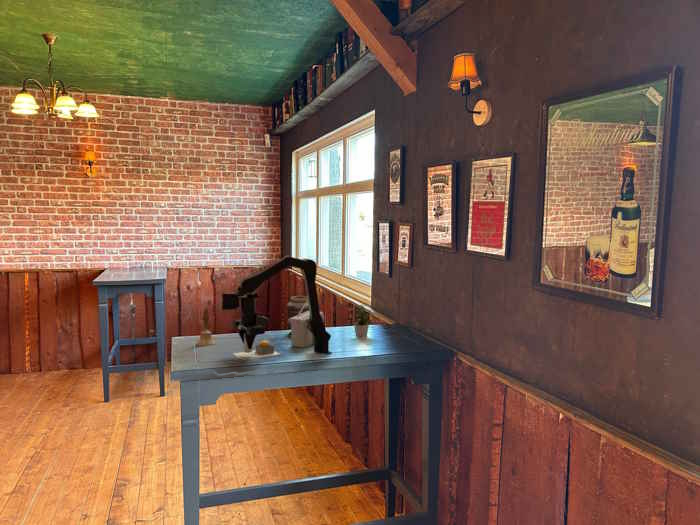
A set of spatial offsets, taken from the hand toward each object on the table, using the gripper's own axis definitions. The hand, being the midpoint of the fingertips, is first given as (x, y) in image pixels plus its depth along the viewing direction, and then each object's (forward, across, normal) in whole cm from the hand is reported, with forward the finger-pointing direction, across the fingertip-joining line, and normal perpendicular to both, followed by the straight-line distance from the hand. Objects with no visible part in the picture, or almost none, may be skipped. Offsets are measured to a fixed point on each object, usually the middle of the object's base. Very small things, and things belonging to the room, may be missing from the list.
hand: (248, 348), depth 207 cm
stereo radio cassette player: (+5, +8, -32) cm, 33 cm away
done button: (+1, +2, -8) cm, 9 cm away
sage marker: (+1, 0, 0) cm, 1 cm away
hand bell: (+4, +32, +6) cm, 32 cm away
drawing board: (+4, +2, -4) cm, 6 cm away
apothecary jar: (+4, +28, -39) cm, 48 cm away
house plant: (+4, +8, -60) cm, 61 cm away
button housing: (+3, +2, -8) cm, 9 cm away
